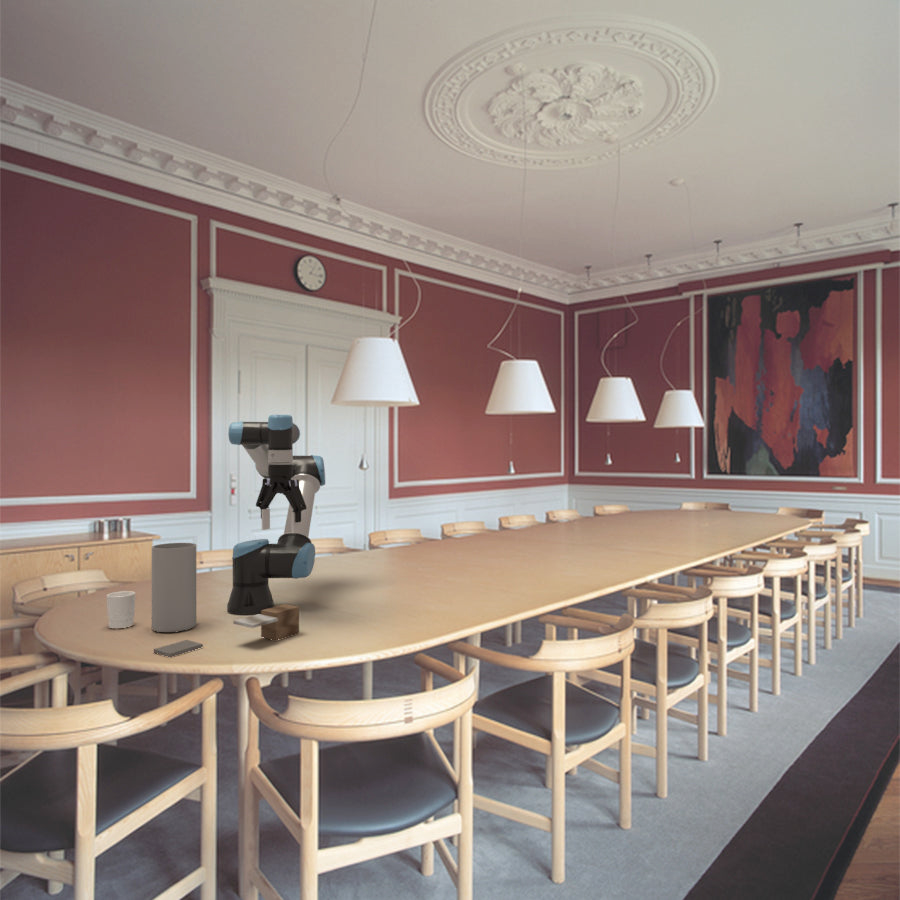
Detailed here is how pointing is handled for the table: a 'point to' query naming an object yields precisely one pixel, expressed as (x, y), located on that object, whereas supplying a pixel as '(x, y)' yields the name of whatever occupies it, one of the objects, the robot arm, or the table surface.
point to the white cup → (121, 609)
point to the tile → (178, 648)
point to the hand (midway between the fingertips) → (280, 531)
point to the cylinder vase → (173, 587)
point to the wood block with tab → (274, 621)
